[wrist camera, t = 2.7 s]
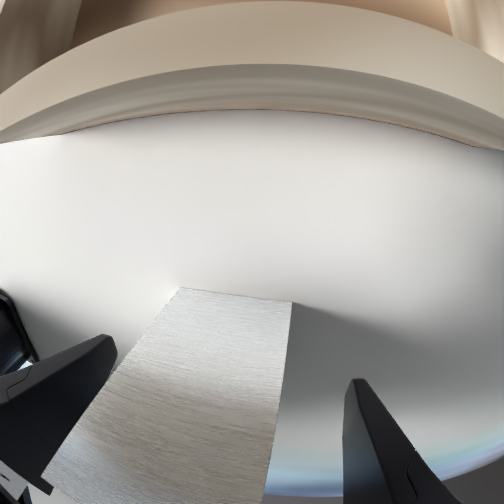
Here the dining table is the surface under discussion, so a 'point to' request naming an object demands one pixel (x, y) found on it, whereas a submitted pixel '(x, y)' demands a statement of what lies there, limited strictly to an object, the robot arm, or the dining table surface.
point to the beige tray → (253, 62)
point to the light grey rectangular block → (184, 409)
